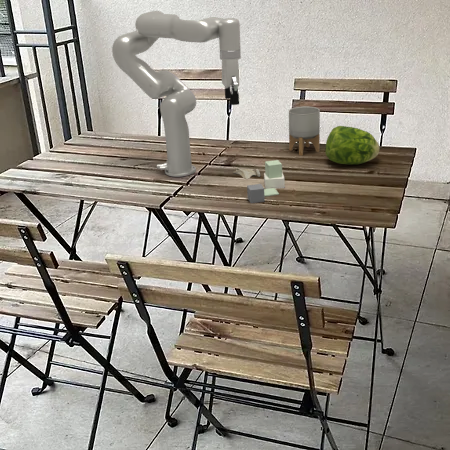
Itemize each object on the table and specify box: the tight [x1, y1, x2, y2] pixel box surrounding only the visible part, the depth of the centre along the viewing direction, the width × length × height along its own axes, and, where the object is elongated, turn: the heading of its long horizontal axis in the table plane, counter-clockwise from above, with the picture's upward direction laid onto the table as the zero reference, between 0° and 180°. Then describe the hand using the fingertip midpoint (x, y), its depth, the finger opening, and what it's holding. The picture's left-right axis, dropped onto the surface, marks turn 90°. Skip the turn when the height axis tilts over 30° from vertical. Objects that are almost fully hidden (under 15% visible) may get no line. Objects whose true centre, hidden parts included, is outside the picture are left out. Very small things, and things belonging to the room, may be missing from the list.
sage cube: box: [264, 159, 283, 179], centre depth 234 cm, size 5×5×5 cm
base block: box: [263, 171, 286, 189], centre depth 235 cm, size 7×7×4 cm
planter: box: [288, 106, 321, 156], centre depth 267 cm, size 13×13×18 cm
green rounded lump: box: [325, 125, 381, 166], centre depth 251 cm, size 16×21×15 cm
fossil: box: [232, 166, 261, 180], centre depth 248 cm, size 7×11×4 cm, turn 36°
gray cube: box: [246, 183, 266, 204], centre depth 223 cm, size 5×5×5 cm
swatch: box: [264, 188, 280, 198], centre depth 229 cm, size 6×6×1 cm
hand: (232, 101), depth 233 cm, fingers open, 9 cm apart
